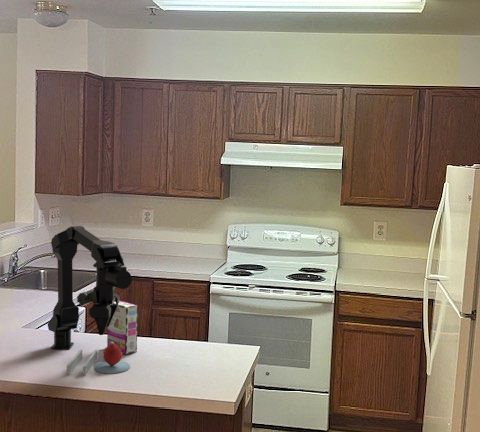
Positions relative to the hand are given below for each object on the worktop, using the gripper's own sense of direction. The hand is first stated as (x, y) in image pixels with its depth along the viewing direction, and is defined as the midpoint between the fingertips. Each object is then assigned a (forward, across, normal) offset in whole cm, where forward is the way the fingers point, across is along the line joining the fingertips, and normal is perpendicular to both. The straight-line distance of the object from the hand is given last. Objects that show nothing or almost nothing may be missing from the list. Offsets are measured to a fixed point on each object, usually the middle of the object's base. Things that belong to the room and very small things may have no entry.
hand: (104, 330), depth 211 cm
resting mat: (+11, +2, +3) cm, 12 cm away
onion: (+11, +2, +3) cm, 12 cm away
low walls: (+12, +2, -6) cm, 13 cm away
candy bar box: (+12, -17, +3) cm, 21 cm away
